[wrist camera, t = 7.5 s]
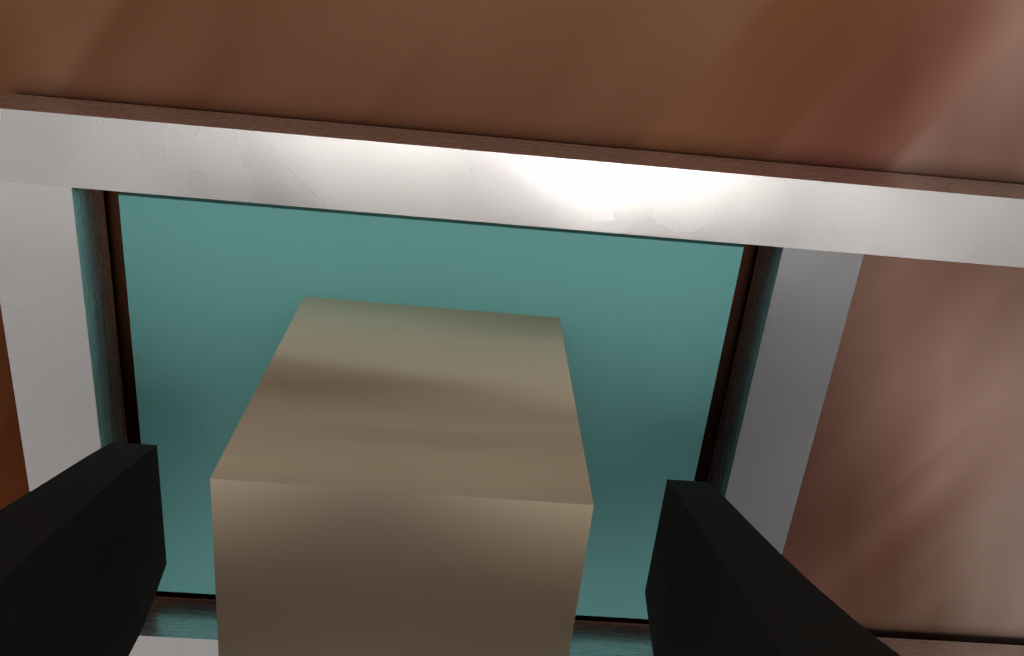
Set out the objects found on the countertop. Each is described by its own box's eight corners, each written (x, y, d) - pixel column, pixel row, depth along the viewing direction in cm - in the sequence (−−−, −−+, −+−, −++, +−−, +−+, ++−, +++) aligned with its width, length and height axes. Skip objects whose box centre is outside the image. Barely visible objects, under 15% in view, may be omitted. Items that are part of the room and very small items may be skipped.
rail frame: (1262, 697, 18) (1304, 738, 17) (81, 633, 16) (58, 673, 16) (1542, 231, 14) (1617, 252, 13) (7, 93, 12) (-30, 105, 11)
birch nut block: (531, 524, 15) (549, 770, 11) (303, 509, 15) (223, 754, 11) (559, 317, 14) (593, 504, 9) (304, 296, 14) (210, 478, 9)
